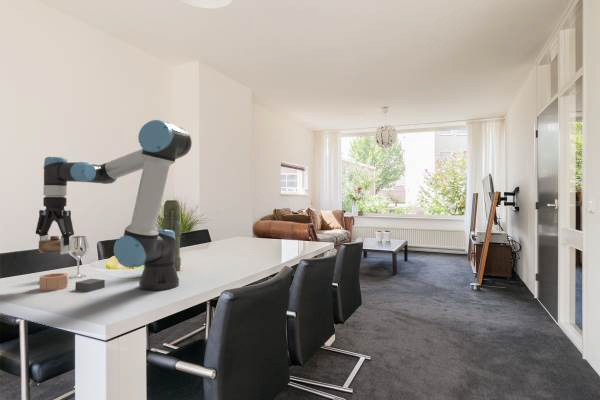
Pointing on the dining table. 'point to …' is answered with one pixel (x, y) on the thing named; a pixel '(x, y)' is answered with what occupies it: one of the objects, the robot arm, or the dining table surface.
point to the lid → (51, 244)
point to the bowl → (53, 281)
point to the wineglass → (78, 251)
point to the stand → (90, 285)
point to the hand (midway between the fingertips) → (54, 253)
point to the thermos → (173, 226)
